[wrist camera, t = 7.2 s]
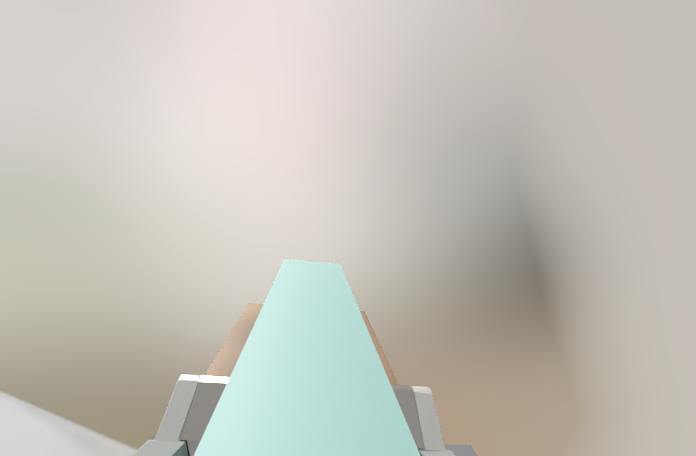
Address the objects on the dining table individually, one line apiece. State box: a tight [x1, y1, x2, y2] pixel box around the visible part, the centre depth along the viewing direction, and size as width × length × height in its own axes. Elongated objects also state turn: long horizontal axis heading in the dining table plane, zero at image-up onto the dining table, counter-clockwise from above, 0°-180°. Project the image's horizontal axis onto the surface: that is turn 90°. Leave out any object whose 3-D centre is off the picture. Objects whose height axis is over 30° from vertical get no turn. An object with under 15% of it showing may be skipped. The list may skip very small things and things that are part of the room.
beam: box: [194, 259, 420, 456], centre depth 14 cm, size 4×19×4 cm, turn 5°
